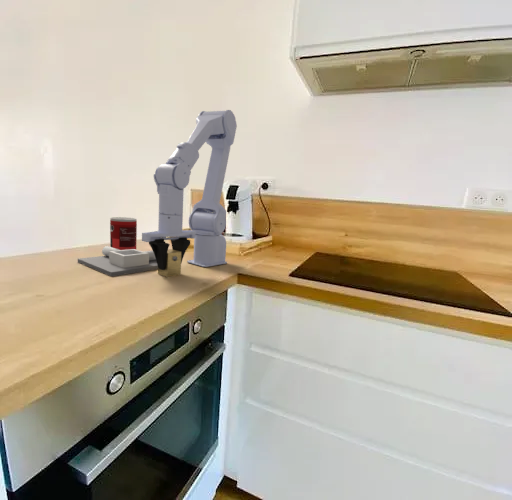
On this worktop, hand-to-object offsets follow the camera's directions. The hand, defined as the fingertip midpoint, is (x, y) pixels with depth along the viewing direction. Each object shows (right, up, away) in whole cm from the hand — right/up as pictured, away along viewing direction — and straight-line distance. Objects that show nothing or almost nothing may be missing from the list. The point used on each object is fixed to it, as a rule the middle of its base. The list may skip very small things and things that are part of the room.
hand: (169, 268), depth 80 cm
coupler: (0, -2, 0) cm, 2 cm away
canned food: (-21, +4, +23) cm, 31 cm away
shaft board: (-14, +1, +7) cm, 15 cm away
